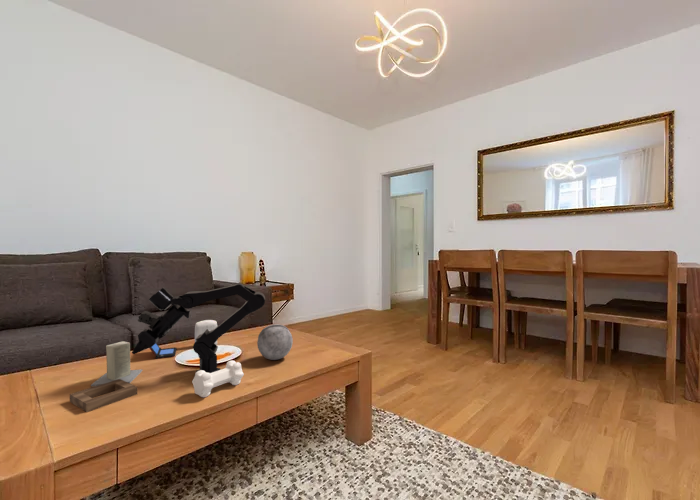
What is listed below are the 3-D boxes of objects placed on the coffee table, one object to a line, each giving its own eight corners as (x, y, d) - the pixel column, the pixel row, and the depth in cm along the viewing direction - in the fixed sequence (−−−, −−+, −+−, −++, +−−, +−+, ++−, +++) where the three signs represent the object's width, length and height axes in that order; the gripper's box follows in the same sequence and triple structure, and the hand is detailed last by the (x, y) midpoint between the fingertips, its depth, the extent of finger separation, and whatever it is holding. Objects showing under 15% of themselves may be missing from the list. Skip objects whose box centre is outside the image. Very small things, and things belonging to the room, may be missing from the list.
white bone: (204, 402, 107) (205, 377, 106) (190, 392, 112) (191, 368, 111) (244, 386, 119) (245, 363, 118) (229, 378, 124) (231, 356, 123)
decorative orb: (290, 352, 154) (290, 319, 154) (295, 362, 140) (295, 326, 140) (256, 355, 149) (256, 321, 149) (258, 366, 136) (258, 329, 135)
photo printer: (216, 342, 168) (216, 318, 168) (218, 345, 165) (218, 319, 165) (193, 346, 163) (193, 320, 162) (195, 348, 159) (195, 322, 159)
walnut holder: (137, 394, 111) (137, 386, 111) (86, 412, 99) (86, 403, 99) (119, 386, 117) (119, 378, 117) (69, 402, 105) (69, 394, 105)
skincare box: (124, 372, 128) (124, 340, 127) (131, 374, 126) (130, 342, 125) (105, 378, 122) (105, 345, 122) (112, 380, 120) (112, 347, 120)
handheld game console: (174, 357, 147) (174, 340, 147) (146, 361, 143) (146, 343, 143) (177, 349, 159) (176, 333, 159) (150, 352, 154) (150, 336, 154)
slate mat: (142, 370, 131) (142, 369, 131) (129, 383, 119) (129, 381, 119) (107, 373, 128) (107, 371, 128) (90, 386, 117) (90, 384, 117)
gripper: (161, 299, 135) (130, 328, 133) (144, 308, 117) (108, 342, 115) (182, 318, 137) (152, 347, 135) (169, 330, 119) (134, 363, 117)
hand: (137, 349), depth 125 cm, fingers open, 9 cm apart
